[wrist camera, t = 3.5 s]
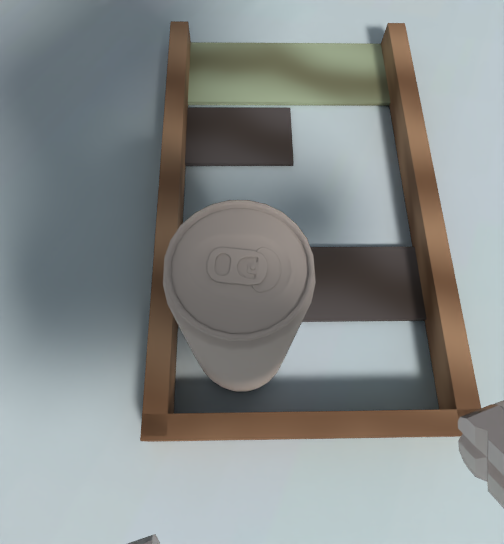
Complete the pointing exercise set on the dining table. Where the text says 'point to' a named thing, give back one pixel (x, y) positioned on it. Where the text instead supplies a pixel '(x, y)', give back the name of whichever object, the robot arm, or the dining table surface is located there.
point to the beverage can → (239, 289)
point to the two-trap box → (327, 260)
